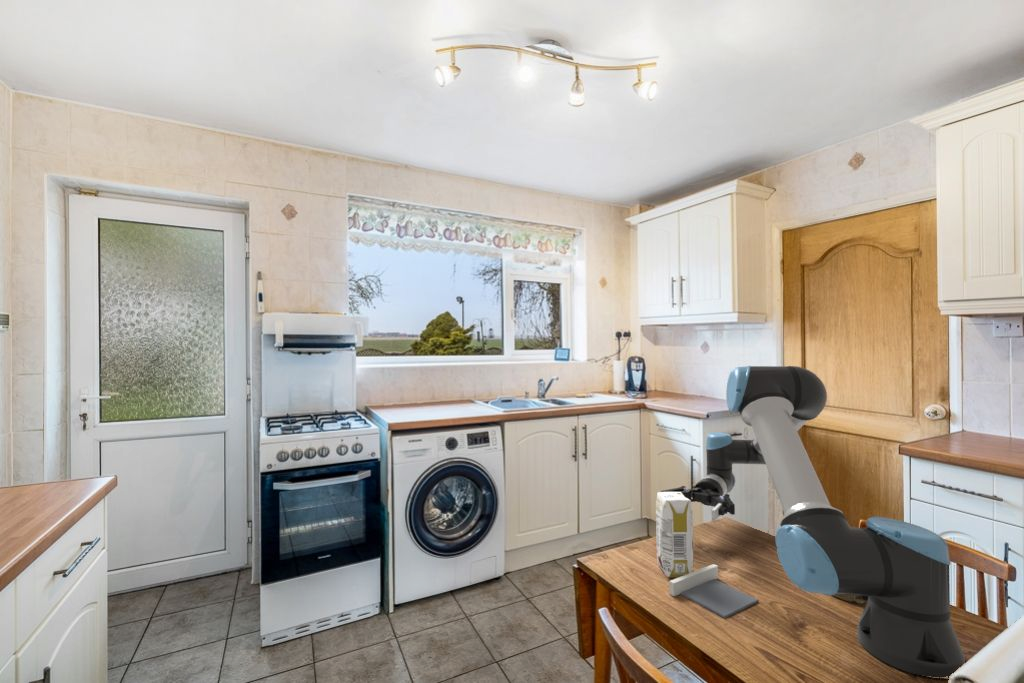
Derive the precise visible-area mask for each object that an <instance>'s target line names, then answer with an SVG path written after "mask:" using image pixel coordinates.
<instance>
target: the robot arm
mask: <svg viewBox="0 0 1024 683" xmlns="http://www.w3.org/2000/svg"><path fill="white" fill-rule="evenodd" d="M727 378H728V379H727V383H726V391H725V392H726V393H725V394H726V395H725V396H726V397H725V398H726V404H727V408H728V410H729V412H730V413H734V414H737V413H739V414H740V417H741V420H742V421H743V423H744V424H745V425H747V426H750V427H752V430H753V433H754V436H755V437H754V438H753V439H733V438H732V435H731V434H729V433H726V432H716V431H715V432H710V433H708V434H707V436H706V445H705V449H706V451H705V452H706V476H704V477H702V479H701V480H699V481H697V483H696V484H695V486H694V487H693V488H686V487H687V486H684V485H681V486H679V487H675V488H669V489H665V490H664V489H663V490H660V492H681V493H682V494H683V495H684V496H685V497H686V498H688V499H689V500H691V503H692V502H694V503H695V502H697V503H700V504H702V505H704V506H707V507H709V506H710V507H713V508H712V509H711V521H714V522H716V520H717V519H719V517H721V516H724V515H726V514H728V513H729V514H730V515H732V516H733V515H736V508H735V506H736V505H735V504H734V502H733V501H732V500H731V498H730V494H728V493H730V492H731V491H732V490H733V488H734V487H735V485H736V477H735V474H734V472H733V465H741V464H742V465H766V468H767V471H768V473H769V476H770V478H771V482H772V485H773V488H774V490H775V492H776V496H777V498H778V500H779V503H780V506H781V508H782V511H783V514H784V515H783V516H782V518H781V519H780V521H779V526H780V527H779V528H778V529H777V530H776V533H775V546H776V548H777V549H776V554H777V557H778V560H779V562H780V564H781V567H782V568H783V571H784V573H785V574H786V576H787V577H788V579H789V580H790V581H791V582H792V583H793V585H795V586H796V587H798V588H799V589H800V590H802V591H804V592H807V593H810V594H821V595H823V596H824V595H825V596H833V595H859V596H868V601H867V602H865V606H864V608H863V610H862V613H861V614H860V617H859V620H858V622H857V640H858V642H859V644H860V645H861V646H862V647H863V648H864V649H865V650H866V651H867V652H868V653H869V654H871V655H872V656H873V657H875V658H877V659H878V660H880V661H881V662H883V663H885V664H887V665H889V666H890V667H894V668H896V669H899V670H900V669H901V671H903V672H906V673H908V674H912V673H913V674H912V675H915V674H917V675H916V676H919V675H924V676H931V677H939V678H940V677H946V676H948V678H949V676H950V675H951V674H952V673H954V672H955V671H956V670H957V669H958V668H959V667H961V666H962V665H963V664H964V663H965V662H966V660H965V659H966V658H965V654H964V652H963V649H962V646H961V644H960V642H959V639H958V636H957V634H956V631H955V629H954V627H953V624H952V621H951V596H950V587H951V586H950V566H951V564H952V562H951V561H950V554H949V553H950V552H949V546H948V544H947V542H946V540H945V539H944V538H943V537H942V536H941V535H939V534H937V533H936V532H934V531H932V530H930V529H927V528H925V527H922V526H920V525H917V524H914V523H910V522H907V521H903V520H899V519H895V518H889V517H883V516H871V517H868V518H867V520H866V522H865V526H866V527H853V526H852V527H851V525H850V524H849V522H848V519H847V517H846V516H845V514H844V513H843V511H842V510H840V509H838V508H836V507H833V506H832V505H831V503H830V501H829V498H828V497H827V495H826V493H825V490H824V488H823V485H822V482H821V481H820V479H819V477H818V475H817V472H816V470H815V468H814V466H813V463H812V462H811V459H810V457H809V455H808V452H807V451H806V449H805V446H804V442H803V441H802V439H801V437H800V435H799V431H800V430H801V428H802V427H803V426H804V425H805V424H806V423H807V422H808V421H812V420H815V419H816V418H817V417H819V415H820V414H821V413H822V412H823V410H824V408H826V405H827V401H828V400H827V399H828V395H827V394H828V393H827V389H826V387H825V384H824V383H823V381H822V379H820V377H818V375H816V373H814V372H813V371H811V370H810V369H808V368H804V367H801V366H795V365H794V366H793V365H788V366H787V365H785V366H784V365H783V366H779V365H778V366H773V365H771V366H770V365H768V366H766V365H765V366H762V365H761V366H759V365H758V366H757V365H755V366H754V365H747V366H737V367H734V368H733V369H731V371H730V373H729V374H728V377H727ZM965 664H966V663H965Z"/></svg>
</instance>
